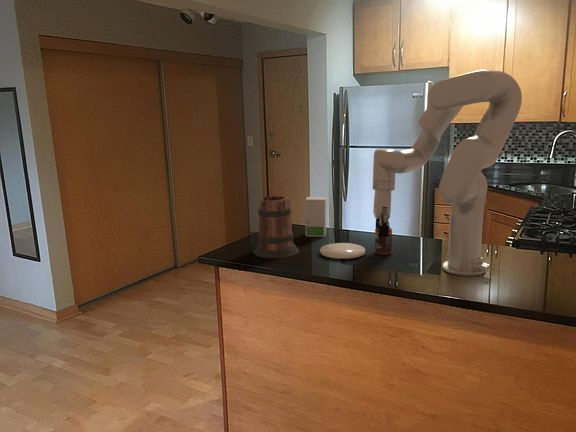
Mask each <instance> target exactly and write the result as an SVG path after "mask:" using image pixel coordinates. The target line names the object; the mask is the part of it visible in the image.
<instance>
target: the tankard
mask: <svg viewBox="0 0 576 432" xmlns="http://www.w3.org/2000/svg"><path fill="white" fill-rule="evenodd" d="M258 205H259V206H258V207H259V208H258V210H257V213H258V234H257V240H258V244H257V245H256V247H255V249H254V250H253V254H254V255H255V256H257V257H259V258H265V259H280V258H281V257H283V258H288V257H287V256H289V257H292V256H295V255H297V254H298V253H299V251H300V249H299V248H298V247H297V245H296V244H295V243H294V233H295V227H294V225H292V207H291V201H290V198H289V197H286V196H284V195H283V196H282V195H275V196H262V197H260V198H259V204H258ZM281 259H282V258H281Z"/></svg>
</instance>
